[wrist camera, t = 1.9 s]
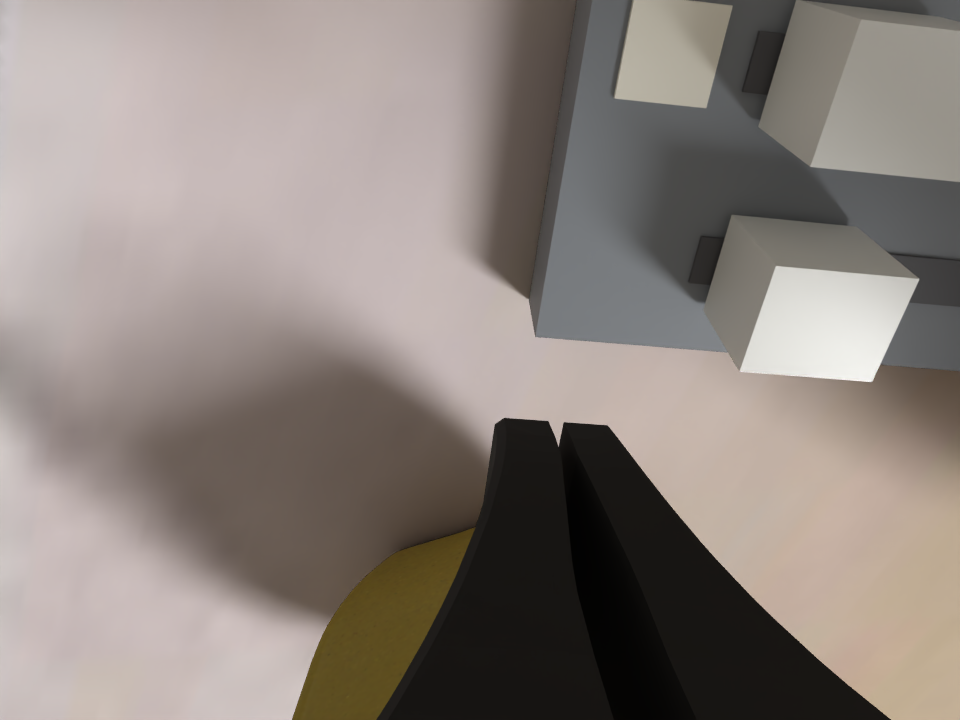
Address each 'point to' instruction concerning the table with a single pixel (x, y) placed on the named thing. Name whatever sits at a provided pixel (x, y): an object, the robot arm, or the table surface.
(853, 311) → the switch
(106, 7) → the table surface
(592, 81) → the panel
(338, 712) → the flower pot
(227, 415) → the table surface
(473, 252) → the table surface
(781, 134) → the switch
